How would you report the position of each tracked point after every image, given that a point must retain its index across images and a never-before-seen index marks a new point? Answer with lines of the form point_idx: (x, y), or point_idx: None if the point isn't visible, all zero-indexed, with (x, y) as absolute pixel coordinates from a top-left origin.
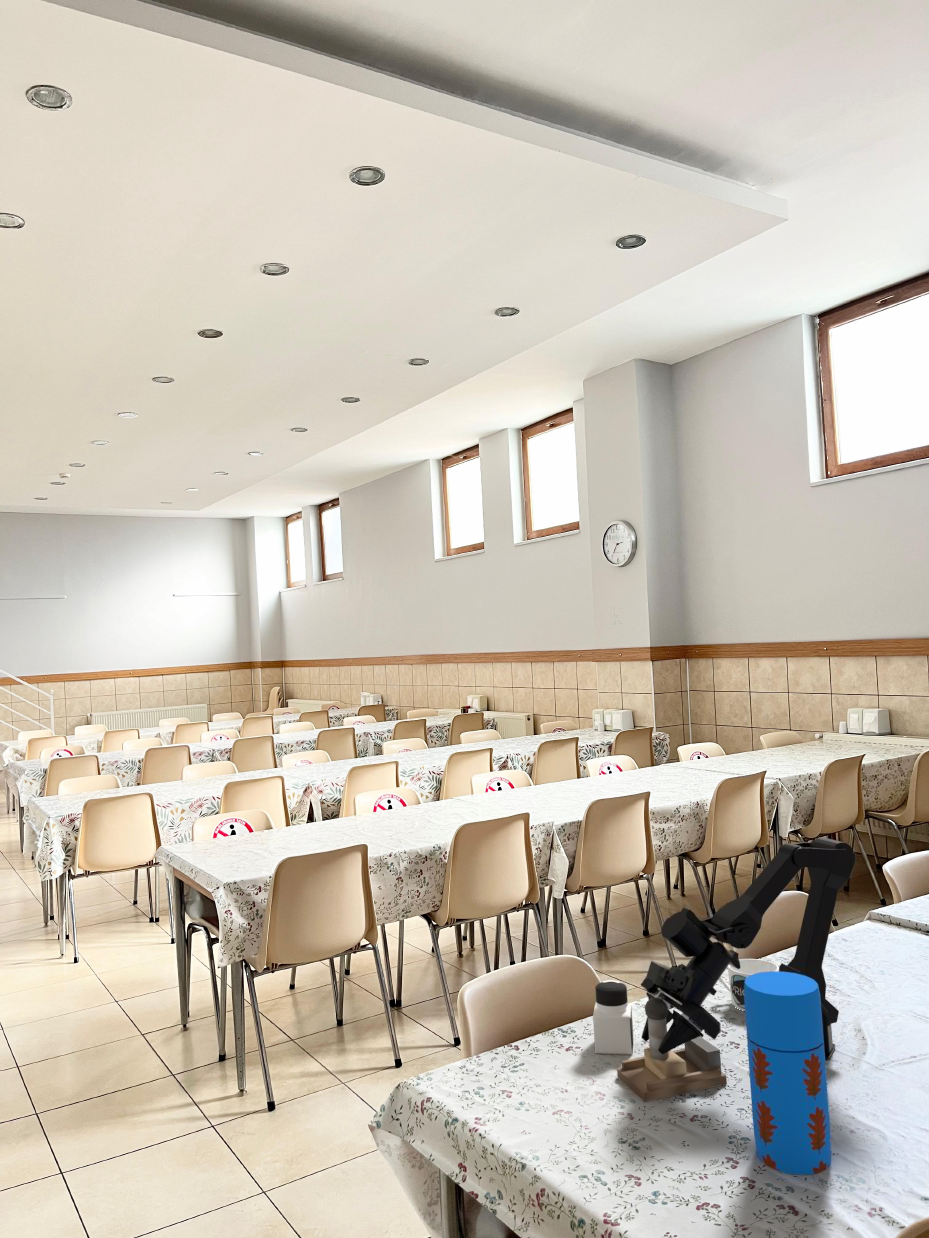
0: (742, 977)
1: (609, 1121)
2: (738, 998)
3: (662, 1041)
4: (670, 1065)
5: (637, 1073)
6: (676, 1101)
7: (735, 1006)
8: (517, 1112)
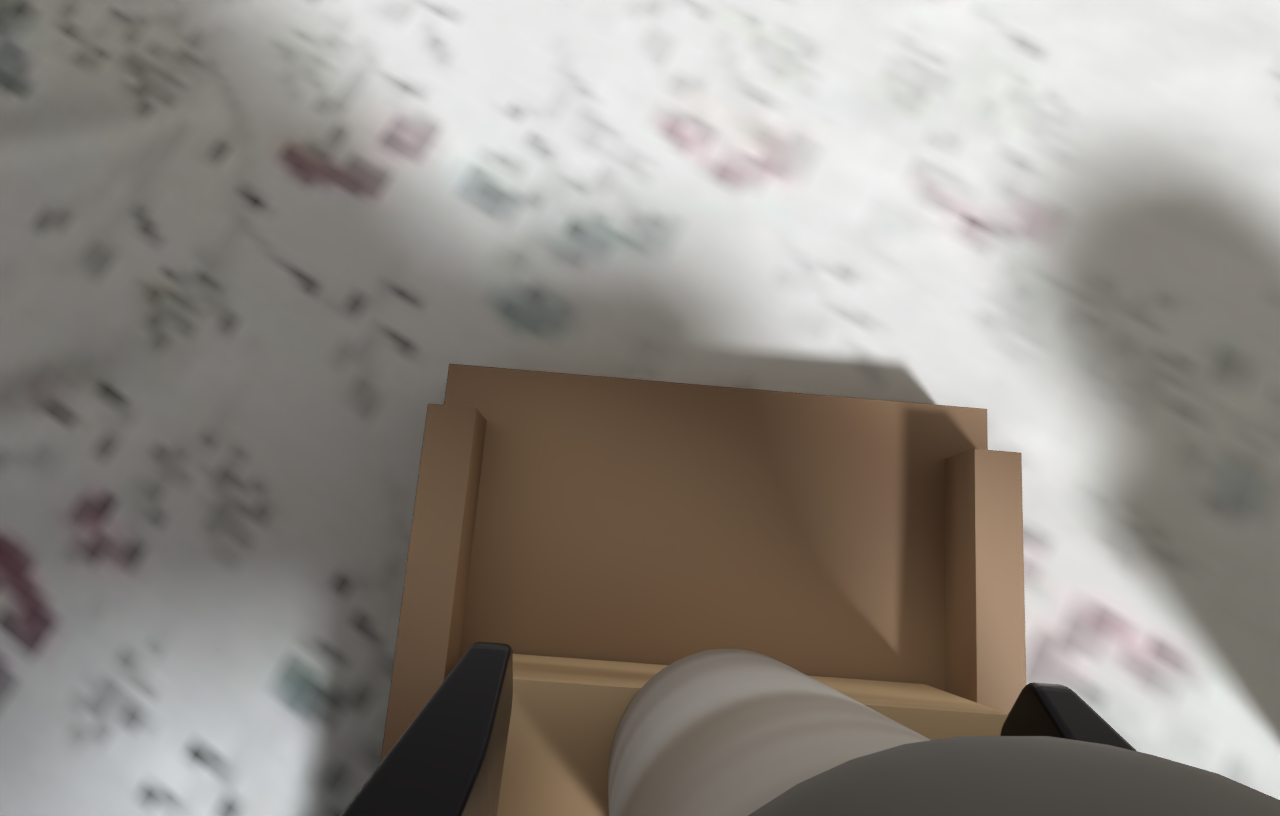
0: None
1: (348, 8)
2: None
3: (455, 759)
4: None
5: (818, 528)
6: (328, 629)
7: None
8: None
